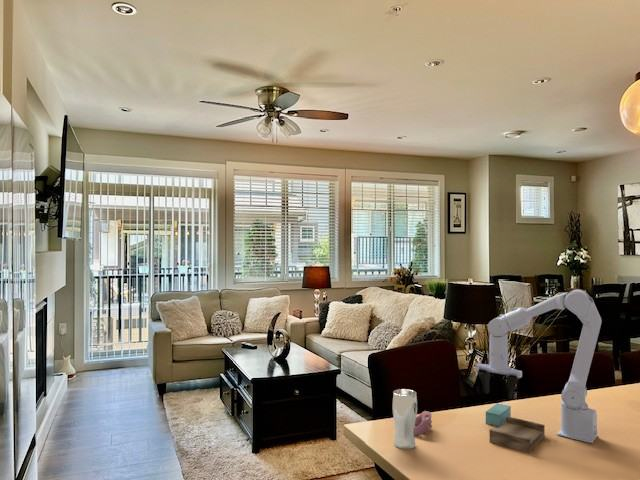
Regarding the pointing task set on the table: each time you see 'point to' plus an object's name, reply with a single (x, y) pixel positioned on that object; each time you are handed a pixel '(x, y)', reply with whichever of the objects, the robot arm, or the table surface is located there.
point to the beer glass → (404, 417)
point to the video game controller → (422, 423)
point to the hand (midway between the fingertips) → (498, 395)
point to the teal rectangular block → (498, 414)
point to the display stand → (518, 434)
